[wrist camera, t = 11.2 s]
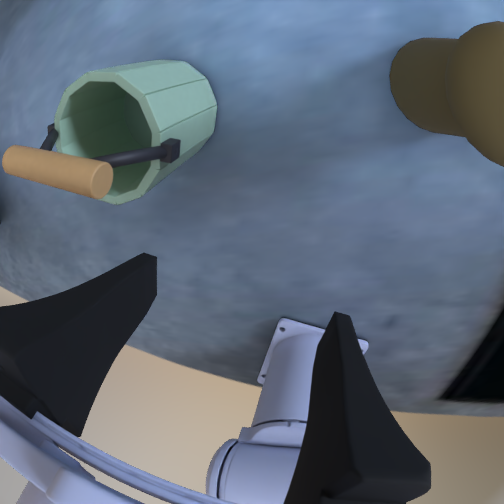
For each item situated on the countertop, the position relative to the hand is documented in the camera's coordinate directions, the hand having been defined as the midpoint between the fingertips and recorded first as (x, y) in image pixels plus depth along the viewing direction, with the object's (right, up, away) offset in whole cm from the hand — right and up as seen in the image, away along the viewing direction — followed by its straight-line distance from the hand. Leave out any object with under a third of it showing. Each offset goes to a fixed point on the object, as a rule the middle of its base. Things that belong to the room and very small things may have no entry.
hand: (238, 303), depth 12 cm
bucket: (-5, +11, +7) cm, 14 cm away
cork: (+11, +12, +2) cm, 17 cm away
